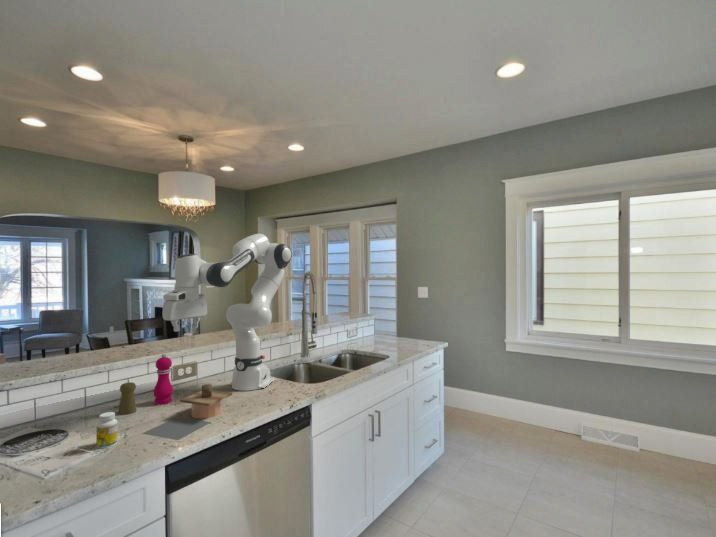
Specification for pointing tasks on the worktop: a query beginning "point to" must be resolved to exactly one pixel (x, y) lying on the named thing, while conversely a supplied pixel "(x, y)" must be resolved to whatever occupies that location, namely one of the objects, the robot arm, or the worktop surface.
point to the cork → (127, 399)
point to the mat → (176, 428)
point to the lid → (206, 396)
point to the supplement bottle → (106, 430)
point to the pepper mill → (163, 381)
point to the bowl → (206, 410)
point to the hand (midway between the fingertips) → (186, 329)
